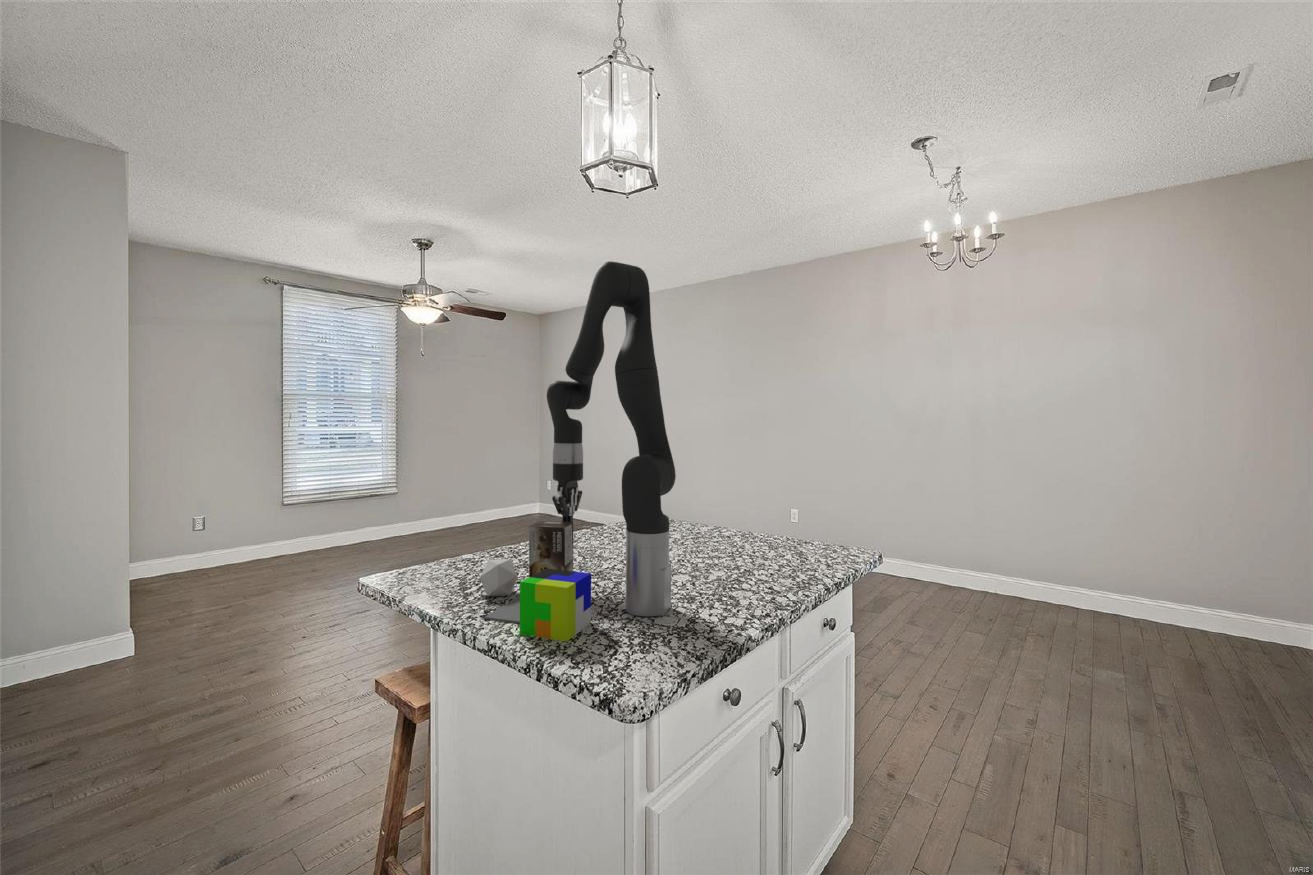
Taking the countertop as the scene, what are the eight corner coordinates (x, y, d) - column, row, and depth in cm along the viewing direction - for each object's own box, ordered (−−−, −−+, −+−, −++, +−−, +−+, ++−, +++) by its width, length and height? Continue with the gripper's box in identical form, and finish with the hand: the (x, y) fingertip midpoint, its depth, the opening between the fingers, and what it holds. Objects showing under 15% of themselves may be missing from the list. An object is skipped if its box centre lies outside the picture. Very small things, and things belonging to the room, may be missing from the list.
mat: (559, 598, 122) (559, 596, 122) (524, 623, 107) (524, 621, 107) (523, 594, 125) (523, 592, 125) (484, 618, 109) (484, 617, 109)
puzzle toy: (590, 622, 108) (591, 573, 108) (566, 641, 99) (567, 587, 98) (547, 616, 111) (547, 568, 111) (519, 634, 102) (519, 581, 102)
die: (502, 605, 119) (526, 566, 123) (468, 585, 119) (493, 547, 123) (504, 606, 127) (527, 570, 130) (473, 588, 127) (496, 552, 131)
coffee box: (574, 588, 129) (574, 522, 129) (565, 597, 123) (565, 527, 123) (538, 586, 131) (538, 520, 131) (527, 594, 125) (527, 525, 124)
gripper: (570, 463, 127) (570, 536, 128) (592, 459, 140) (591, 526, 140) (541, 462, 129) (541, 534, 130) (565, 459, 142) (565, 524, 142)
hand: (567, 530), depth 135 cm, fingers closed
